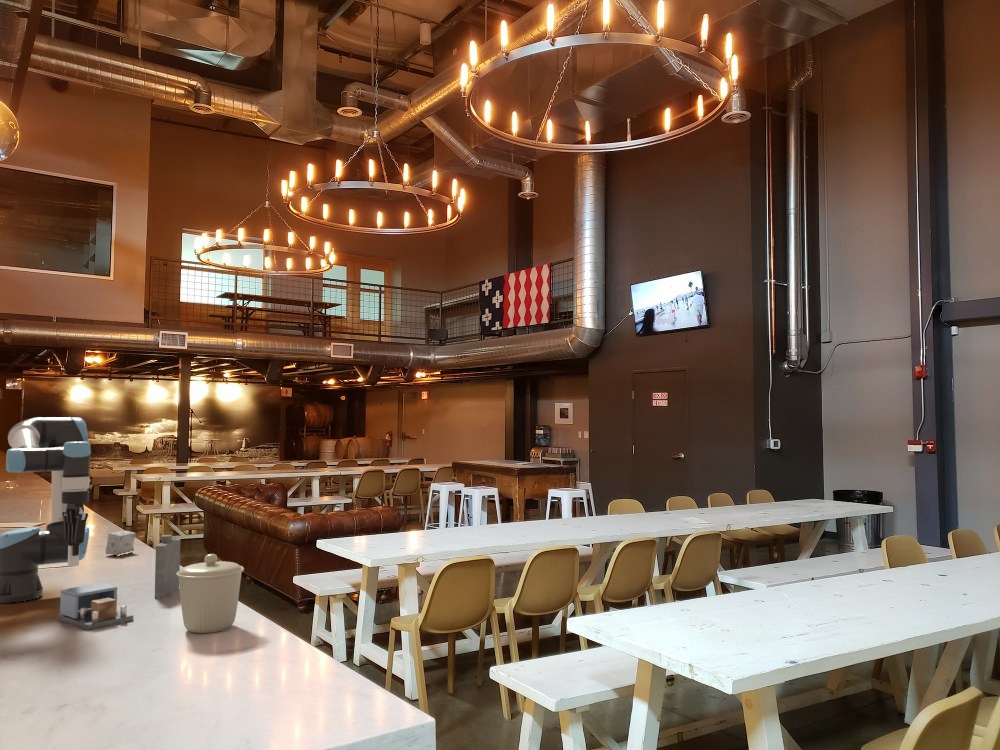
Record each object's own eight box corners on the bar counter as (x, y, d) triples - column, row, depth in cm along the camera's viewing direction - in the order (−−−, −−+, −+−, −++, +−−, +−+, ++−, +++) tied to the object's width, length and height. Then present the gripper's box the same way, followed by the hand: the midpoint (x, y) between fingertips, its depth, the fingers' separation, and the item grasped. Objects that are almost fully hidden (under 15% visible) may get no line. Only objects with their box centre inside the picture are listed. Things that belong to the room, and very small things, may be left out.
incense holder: (119, 557, 325) (120, 533, 326) (104, 556, 327) (105, 533, 328) (136, 553, 334) (137, 530, 335) (121, 552, 337) (122, 530, 337)
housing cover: (60, 613, 219) (60, 589, 220) (101, 605, 229) (102, 582, 229) (74, 618, 213) (75, 594, 214) (116, 610, 223) (117, 586, 223)
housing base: (57, 619, 219) (57, 604, 219) (102, 610, 229) (102, 596, 230) (87, 630, 207) (87, 614, 207) (133, 620, 217) (133, 605, 218)
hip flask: (162, 598, 245) (164, 538, 247) (150, 598, 245) (151, 538, 246) (180, 588, 261) (181, 531, 262) (169, 588, 261) (170, 531, 262)
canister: (177, 641, 196) (179, 562, 197) (172, 625, 212) (174, 552, 213) (247, 632, 204) (248, 556, 205) (238, 617, 220) (239, 546, 221)
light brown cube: (98, 620, 212) (98, 603, 212) (90, 618, 215) (91, 600, 215) (115, 617, 216) (116, 599, 216) (108, 614, 219) (108, 597, 219)
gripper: (97, 490, 229) (95, 566, 228) (79, 488, 237) (76, 561, 236) (72, 492, 223) (69, 570, 222) (54, 490, 231) (51, 565, 230)
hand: (73, 565), depth 229 cm, fingers closed
